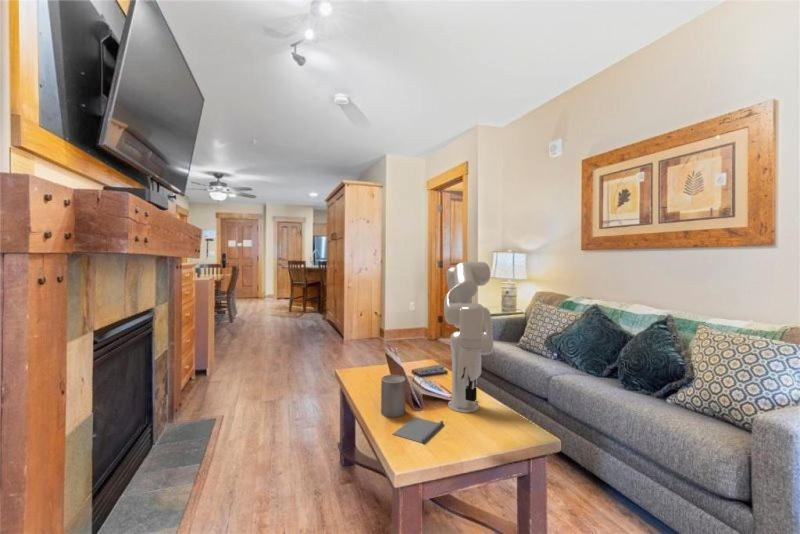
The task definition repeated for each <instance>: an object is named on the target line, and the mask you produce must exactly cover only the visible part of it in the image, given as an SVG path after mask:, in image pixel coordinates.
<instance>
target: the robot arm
mask: <svg viewBox="0 0 800 534" xmlns="http://www.w3.org/2000/svg"><path fill="white" fill-rule="evenodd" d="M490 280H491V269H490V265H488V263H487V262H485V261H461V262H458V263H457V264H456V265H455V266H453V267H449V268H448V269H447V271H446V285H447V287H448V292H447V293H446V294H445V297H444V302H443V315H444V320H445V322H446V324H449V325H452V326H453V325H454V327H455V328H457V329H459V330H457V331H454V332H452V333H451V334H450V336H449V337H450V338H449V344H450V350H451V351H450V352H451V400H452V401H451V400H450V401H448V408H449V409H450V410H451V411H454V412H457V413H462V414H468V413H475V412H477V411H478V410H480V404H479V403H478V402H476V401H477V394H478V393H477V387H478V386H477V385H478V378H479V377H480V376H481V374H482V355H484V356H487V355H491V354H492V353H493V351H494V336H493V325H492V324H493V322H492V315H491V312H490V309H488V308H487V307H484V305H482V304H481V303H473V297H475V295H476V294H477V292H478V287H479V286H480V287H481V286H485V285H487V284H488V283H489V281H490Z"/></svg>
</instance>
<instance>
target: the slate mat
mask: <svg viewBox="0 0 800 534" xmlns="http://www.w3.org/2000/svg"><path fill="white" fill-rule="evenodd" d="M444 426H445V424H444V420H440V421H439V422H437V421H433V420H429V419H424V418H422V417H421V418H420V417H417V416H414V417H412V418H411V419H410V420H408V421H407V422H405V424H402V426H401V427H399V428H398V429H397V430H396V431H394V432H393V433H392V436H396V437H399V438H403V439H407V440H410V441H413V442H416V443H419V444H424V445H426V444H427V442H429V441H430V440H431V439H432V438H433V437H434V436H435V435H436V434H437V433H438V432H439V431H440V430H441V429H442V428H443V427H444Z"/></svg>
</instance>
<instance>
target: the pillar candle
mask: <svg viewBox="0 0 800 534" xmlns="http://www.w3.org/2000/svg"><path fill="white" fill-rule="evenodd" d="M380 387H381V388H380V389H381V390H380V391H381V392H380V393H381V394H380V395H381V398H380V399H381V401H380V402H381V403H380V410H381V411H380V412H381V415H382V416H384V417H387V418H399V417H402V416H404V415H405V414H406V377H405V376H404V375H399V374H387V375H384V376H382V377H381V386H380Z"/></svg>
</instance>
